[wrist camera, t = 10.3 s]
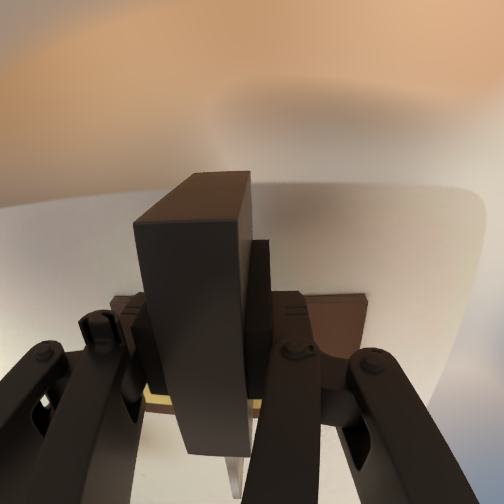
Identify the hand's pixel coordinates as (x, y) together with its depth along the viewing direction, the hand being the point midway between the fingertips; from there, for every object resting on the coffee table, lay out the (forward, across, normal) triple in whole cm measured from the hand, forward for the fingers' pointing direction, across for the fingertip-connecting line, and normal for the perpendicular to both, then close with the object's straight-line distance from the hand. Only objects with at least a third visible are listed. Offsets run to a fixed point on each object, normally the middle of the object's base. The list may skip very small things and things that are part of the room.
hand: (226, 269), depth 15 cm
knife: (0, 0, -5) cm, 5 cm away
